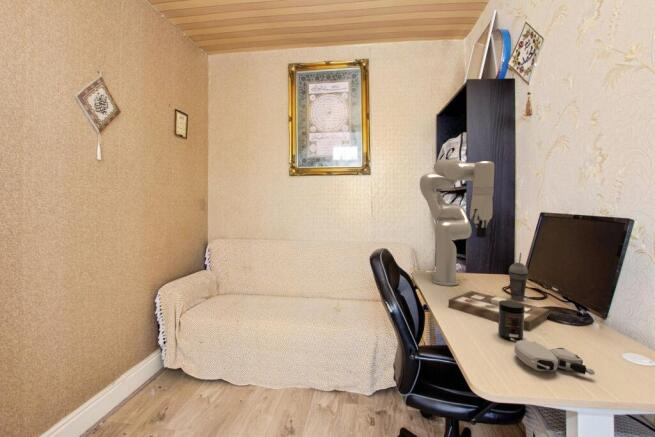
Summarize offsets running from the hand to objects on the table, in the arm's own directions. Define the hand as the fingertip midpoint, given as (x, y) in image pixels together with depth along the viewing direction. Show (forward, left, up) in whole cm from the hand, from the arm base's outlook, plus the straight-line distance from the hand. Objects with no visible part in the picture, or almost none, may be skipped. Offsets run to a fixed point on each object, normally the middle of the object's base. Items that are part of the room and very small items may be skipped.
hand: (481, 237), depth 126 cm
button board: (+10, -8, -27) cm, 30 cm away
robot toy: (+35, -36, -27) cm, 57 cm away
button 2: (+18, -6, -26) cm, 32 cm away
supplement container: (+22, -26, -27) cm, 43 cm away
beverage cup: (+9, +14, -27) cm, 32 cm away
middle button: (+10, -6, -25) cm, 27 cm away
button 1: (+2, -6, -26) cm, 27 cm away
